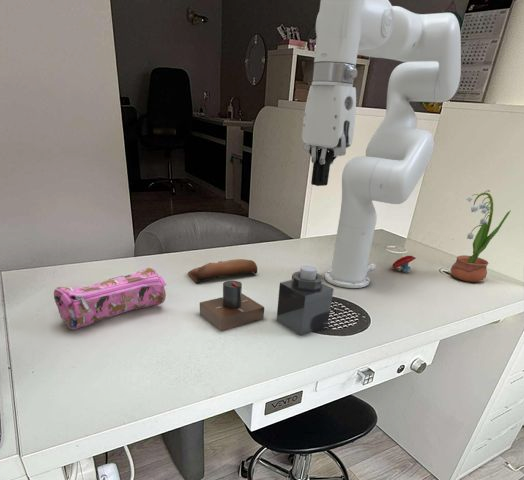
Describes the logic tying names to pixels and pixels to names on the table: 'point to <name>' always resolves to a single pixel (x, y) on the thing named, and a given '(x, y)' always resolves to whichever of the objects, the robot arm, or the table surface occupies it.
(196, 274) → the sunglasses case
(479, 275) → the potted flower
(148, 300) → the pencil case
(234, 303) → the dial
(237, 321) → the control box
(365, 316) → the table surface
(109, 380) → the table surface
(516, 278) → the table surface
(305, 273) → the grey cylinder plug
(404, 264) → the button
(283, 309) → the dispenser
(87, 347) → the table surface
